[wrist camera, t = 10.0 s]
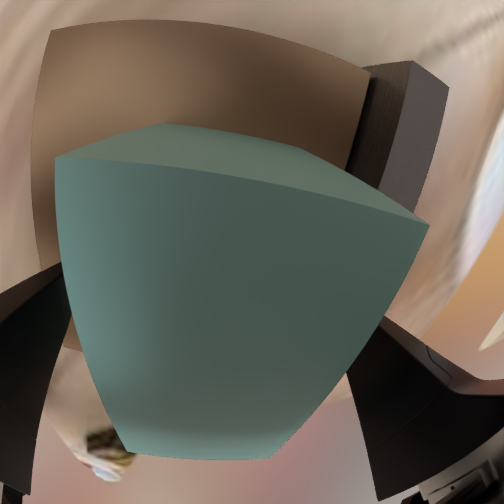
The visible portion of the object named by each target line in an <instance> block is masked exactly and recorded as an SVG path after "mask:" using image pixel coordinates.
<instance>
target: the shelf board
mask: <svg viewBox="0 0 504 504" xmlns="http://www.w3.org/2000/svg"><path fill="white" fill-rule="evenodd" d="M370 75H371V73H370V72H368V71H366V70H364V69H362V68H360V67H357V66H355V65H353V64H351V63H348V62H346V61H344V60H341V59H339V58H337V57H334V56H332V55H329V54H326V53H324V52H321V51H318V50H316V49H313V48H310V47H307V46H304V45H301V44H298V43H295V42H291V41H288V40H285V39H281V38H277V37H274V36H270V35H266V34H262V33H258V32H253V31H248V30H244V29H239V28H233V27H227V26H221V25H214V24H207V23H198V22H187V21H173V20H123V21H109V22H99V23H90V24H83V25H77V26H71V27H65V28H60V29H56V30H51V32H50V35H49V38H48V42H47V45H46V49H45V53H44V57H43V61H42V66H41V70H40V75H39V80H38V86H37V92H36V98H35V106H34V114H33V124H32V138H31V193H32V207H33V218H34V226H35V234H36V241H37V247H38V253H39V259H40V264H41V269H42V271H43V270H45V269H47V268H49V267H51V266H53V265H55V264H57V263H59V262H61V255H60V248H59V240H58V231H57V219H56V204H55V157H58V156H60V155H62V154H65V153H67V152H70V151H72V150H75V149H78V148H80V147H83V146H86V145H88V144H91V143H94V142H97V141H100V140H103V139H106V138H109V137H112V136H115V135H119V134H122V133H125V132H129V131H132V130H136V129H139V128H143V127H147V126H151V125H155V124H159V123H172V124H180V125H188V126H195V127H202V128H209V129H215V130H221V131H227V132H232V133H237V134H243V135H248V136H252V137H257V138H262V139H266V140H271V141H275V142H279V143H283V144H287V145H291V146H295V147H299V148H301V149H303V150H305V151H307V152H309V153H311V154H313V155H315V156H317V157H319V158H321V159H323V160H325V161H327V162H329V163H331V164H333V165H334V166H336V167H338V168H340V169H342V170H345V167H346V164H347V161H348V157H349V154H350V151H351V147H352V144H353V140H354V137H355V133H356V130H357V126H358V122H359V119H360V115H361V111H362V107H363V104H364V100H365V96H366V92H367V88H368V83H369V79H370ZM63 345H64V347H66V348H70V349H74V350H78V351H82V352H83V350H82V347H81V344H80V340H79V337H78V334H77V330H76V327H75V323H74V319H73V315H72V316H71V319H70V323H69V326H68V329H67V332H66V335H65V337H64V340H63Z"/></svg>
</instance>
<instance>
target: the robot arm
mask: <svg viewBox="0 0 504 504" xmlns="http://www.w3.org/2000/svg"><path fill="white" fill-rule="evenodd" d="M71 316H72V311H71V307H70V303H69V299H68V294H67V289H66V285H65V279H64V274H63V268H62V262H59V263H57V264H55V265H53V266H51V267H49V268H47V269H45V270H43V271H41V272H39V273H37V274H35V275H33V276H32V277H30V278H28V279H26V280H24V281H22V282H20V283H19V284H17V285H15V286H13V287H11V288H9V289H8V290H6V291H4V292H2V293H1V294H0V504H22V497H23V496H24V495H25V494H27V495H30V492H31V478H32V468H33V459H34V453H35V446H36V438H37V433H38V428H39V423H40V418H41V414H42V410H43V405H44V401H45V397H46V394H47V390H48V386H49V383H50V379H51V376H52V373H53V370H54V366H55V363H56V360H57V357H58V354H59V351H60V348H61V346H62V343H63V340H64V337H65V335H66V332H67V329H68V326H69V323H70V319H71ZM346 374H347V377H348V381H349V384H350V388H351V391H352V395H353V398H354V402H355V406H356V409H357V413H358V417H359V421H360V425H361V428H362V432H363V436H364V440H365V445H366V449H367V452H368V458H369V462H370V467H371V471H372V476H373V481H374V486H375V491H376V496H377V499H378V501H381V500H384V499H386V498H389V497H391V496H394V495H396V494H398V493H401V492H403V491H405V490H407V489H409V488H411V487H414V486H416V485H418V487H419V490H420V491H418V492H416V493H414V494H413V495H411V496H409V497H407V498H405V499H403V500H402V502H401V504H504V379H499V380H481V379H479V378H476V377H474V376H473V375H471V374H470V373H468V372H466V371H465V370H463V369H462V368H460V367H458V366H457V365H455V364H454V363H452V362H451V361H449V360H448V359H446V358H444V357H443V356H441V355H440V354H439V353H437V352H436V351H434V350H433V349H431V348H430V347H428V346H427V345H425V344H424V343H423V342H421V341H420V340H419V339H417V338H416V337H414V336H413V335H412V334H410V333H409V332H407V331H406V330H404V329H403V328H401V327H400V326H399V325H397V324H396V323H394V322H393V321H391V320H390V319H388V318H387V317H386V316H383V318H382V319H381V321H380V323H379V324H378V326H377V327H376V329H375V331H374V332H373V334H372V335H371V337H370V338H369V340H368V341H367V343H366V344H365V346H364V347H363V349H362V350H361V352H360V353H359V355H358V356H357V357H356V359H355V360H354V362H353V363H352V364H351V366H350V367H349V369H348V370H347V371H346Z"/></svg>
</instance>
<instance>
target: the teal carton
mask: <svg viewBox="0 0 504 504" xmlns="http://www.w3.org/2000/svg"><path fill="white" fill-rule="evenodd" d="M55 204H56V219H57V231H58V240H59V248H60V255H61V262H62V268H63V274H64V279H65V285H66V289H67V294H68V299H69V303H70V307H71V311H72V315H73V319H74V323H75V327H76V330H77V334H78V337H79V340H80V344H81V347H82V350H83V353H84V356H85V359H86V362H87V365H88V367H89V370H90V373H91V375H92V378H93V381H94V383H95V386H96V388H97V391H98V393H99V395H100V398H101V400H102V402H103V405H104V407H105V409H106V411H107V413H108V415H109V418H110V420H111V422H112V424H113V426H114V428H115V430H116V432H117V434H118V435H119V437H120V439H121V441H122V443H123V445H124V446H125V448H126V450H127V451H128V452H134V453H140V454H147V455H153V456H161V457H170V458H181V459H195V460H249V459H251V460H252V459H265V458H271V457H272V456H273V455H274V454H275V453H276V452H277V451H278V450H279V449H280V448H281V447H282V446H283V445H284V444H285V443H286V442H287V441H288V440H289V439H290V438H291V437H292V436H293V435H294V433H296V431H297V430H298V429H299V428H300V427H301V426H302V425H303V424H304V423H305V422H306V421H307V419H308V418H309V417H310V416H311V415H312V414H313V413H314V411H315V410H316V409H317V408H318V407H319V406H320V404H321V403H322V402H323V401H324V400H325V398H326V397H327V396H328V395H329V393H330V392H331V391H332V390H333V388H334V387H335V386H336V385H337V383H338V382H339V381H340V379H341V378H342V377H343V375H344V374H345V373H346V371H347V370H348V369H349V367H350V366H351V364H352V363H353V362H354V360H355V359H356V357H357V356H358V355H359V353H360V352H361V350H362V349H363V347H364V346H365V344H366V343H367V341H368V340H369V338H370V337H371V335H372V334H373V332H374V331H375V329H376V327H377V326H378V324H379V323H380V321H381V319H382V318H383V316H384V314H385V313H386V311H387V309H388V308H389V306H390V304H391V302H392V301H393V299H394V297H395V295H396V294H397V292H398V290H399V288H400V286H401V284H402V283H403V281H404V279H405V277H406V275H407V273H408V271H409V269H410V267H411V265H412V263H413V261H414V259H415V257H416V255H417V253H418V251H419V248H420V246H421V244H422V242H423V240H424V237H425V235H426V233H427V230H428V228H429V226H430V225H429V224H427V223H426V222H425V221H423V220H422V219H420V218H419V217H418V216H416V215H415V214H413V213H412V212H410V211H409V210H407V209H406V208H404V207H403V206H401V205H400V204H398V203H397V202H395V201H394V200H392V199H391V198H389V197H387V196H386V195H384V194H383V193H381V192H379V191H378V190H376V189H375V188H373V187H371V186H370V185H368V184H366V183H365V182H363V181H361V180H359V179H358V178H356V177H354V176H352V175H351V174H349V173H347V172H345V171H344V170H342V169H340V168H338V167H336V166H334V165H333V164H331V163H329V162H327V161H325V160H323V159H321V158H319V157H317V156H315V155H313V154H311V153H309V152H307V151H305V150H303V149H301V148H299V147H295V146H291V145H287V144H283V143H279V142H275V141H271V140H266V139H262V138H257V137H252V136H248V135H243V134H237V133H232V132H227V131H221V130H215V129H209V128H202V127H195V126H188V125H180V124H172V123H159V124H155V125H151V126H147V127H143V128H139V129H136V130H132V131H129V132H125V133H122V134H119V135H115V136H112V137H109V138H106V139H103V140H100V141H97V142H94V143H91V144H88V145H86V146H83V147H80V148H78V149H75V150H72V151H70V152H67V153H65V154H62V155H60V156H58V157H55Z"/></svg>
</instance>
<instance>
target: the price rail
mask: <svg viewBox="0 0 504 504" xmlns="http://www.w3.org/2000/svg"><path fill="white" fill-rule="evenodd" d="M363 69H364V70H366V71H368V72H370V73H371V75H370V79H369V83H368V88H367V92H366V96H365V100H364V104H363V107H362V111H361V115H360V119H359V122H358V126H357V130H356V133H355V137H354V140H353V144H352V147H351V151H350V154H349V157H348V161H347V164H346V167H345V170H344V171H345V172H347V173H349V174H351V175H352V176H354V177H356V178H358V179H359V180H361V181H363V182H365V183H366V184H368V185H370V186H371V187H373V188H375V189H376V190H378V191H379V192H381V193H383V194H384V195H386V196H387V197H389V198H391V199H392V200H394V201H395V202H397V203H398V204H400V205H401V206H403V207H404V208H406V209H407V210H409V211H410V212H412V213H413V212H414V209H415V207H416V204H417V202H418V199H419V196H420V193H421V191H422V188H423V185H424V182H425V179H426V176H427V173H428V170H429V167H430V164H431V160H432V157H433V154H434V150H435V147H436V143H437V140H438V136H439V132H440V128H441V124H442V120H443V115H444V111H445V106H446V101H447V96H448V91H449V87H448V86H447V85H446V84H444V83H443V82H442V81H441V80H439V79H438V78H437V77H435V76H434V75H433V74H431V73H430V72H428V71H427V70H426V69H424V68H423V67H421V66H420V65H418V64H417V63H415V62H414V61H403V62H394V63H387V64H380V65H373V66H367V67H363Z"/></svg>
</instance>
